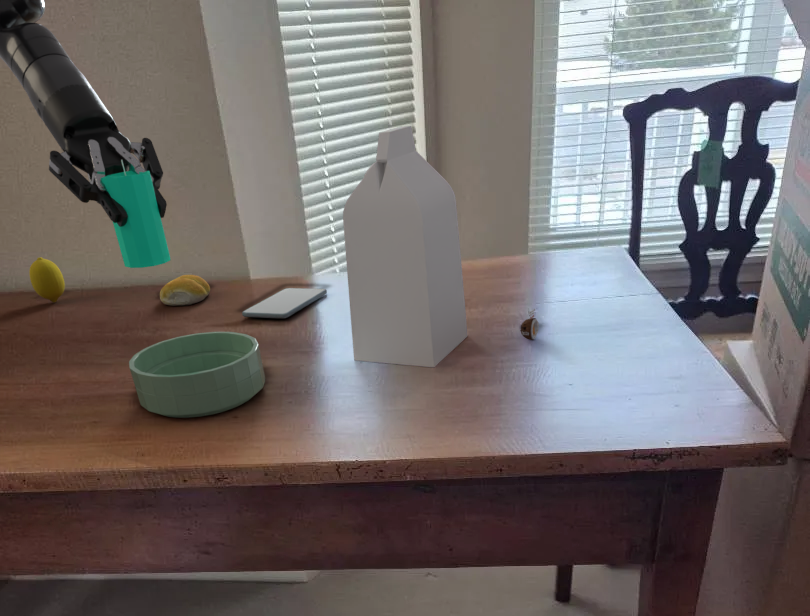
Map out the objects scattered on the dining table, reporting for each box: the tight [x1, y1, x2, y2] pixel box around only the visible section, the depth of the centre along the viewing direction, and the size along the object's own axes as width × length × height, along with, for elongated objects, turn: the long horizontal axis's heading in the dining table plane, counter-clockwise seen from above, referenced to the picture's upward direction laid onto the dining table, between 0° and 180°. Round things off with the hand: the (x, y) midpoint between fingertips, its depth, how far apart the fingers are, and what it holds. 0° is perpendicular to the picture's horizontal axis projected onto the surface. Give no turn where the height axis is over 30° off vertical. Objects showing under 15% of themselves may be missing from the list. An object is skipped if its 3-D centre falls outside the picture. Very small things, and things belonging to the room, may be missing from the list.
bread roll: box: [159, 274, 211, 307], centre depth 128 cm, size 8×9×4 cm
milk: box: [342, 125, 469, 368], centre depth 92 cm, size 12×12×26 cm
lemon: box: [28, 256, 66, 303], centre depth 133 cm, size 6×6×8 cm
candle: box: [101, 160, 171, 269], centre depth 92 cm, size 6×6×12 cm
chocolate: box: [520, 308, 540, 341], centre depth 97 cm, size 3×2×4 cm
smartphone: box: [241, 287, 328, 319], centre depth 120 cm, size 8×1×15 cm
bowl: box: [128, 331, 266, 419], centre depth 89 cm, size 15×15×6 cm
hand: (143, 217), depth 91 cm, fingers closed on candle, 4 cm apart
